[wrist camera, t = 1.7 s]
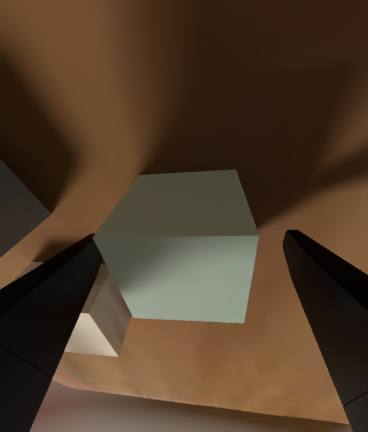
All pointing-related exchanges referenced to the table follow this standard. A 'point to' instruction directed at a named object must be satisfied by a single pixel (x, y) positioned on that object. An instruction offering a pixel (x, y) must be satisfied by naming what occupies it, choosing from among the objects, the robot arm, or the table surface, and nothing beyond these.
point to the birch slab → (99, 317)
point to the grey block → (17, 210)
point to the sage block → (182, 246)
